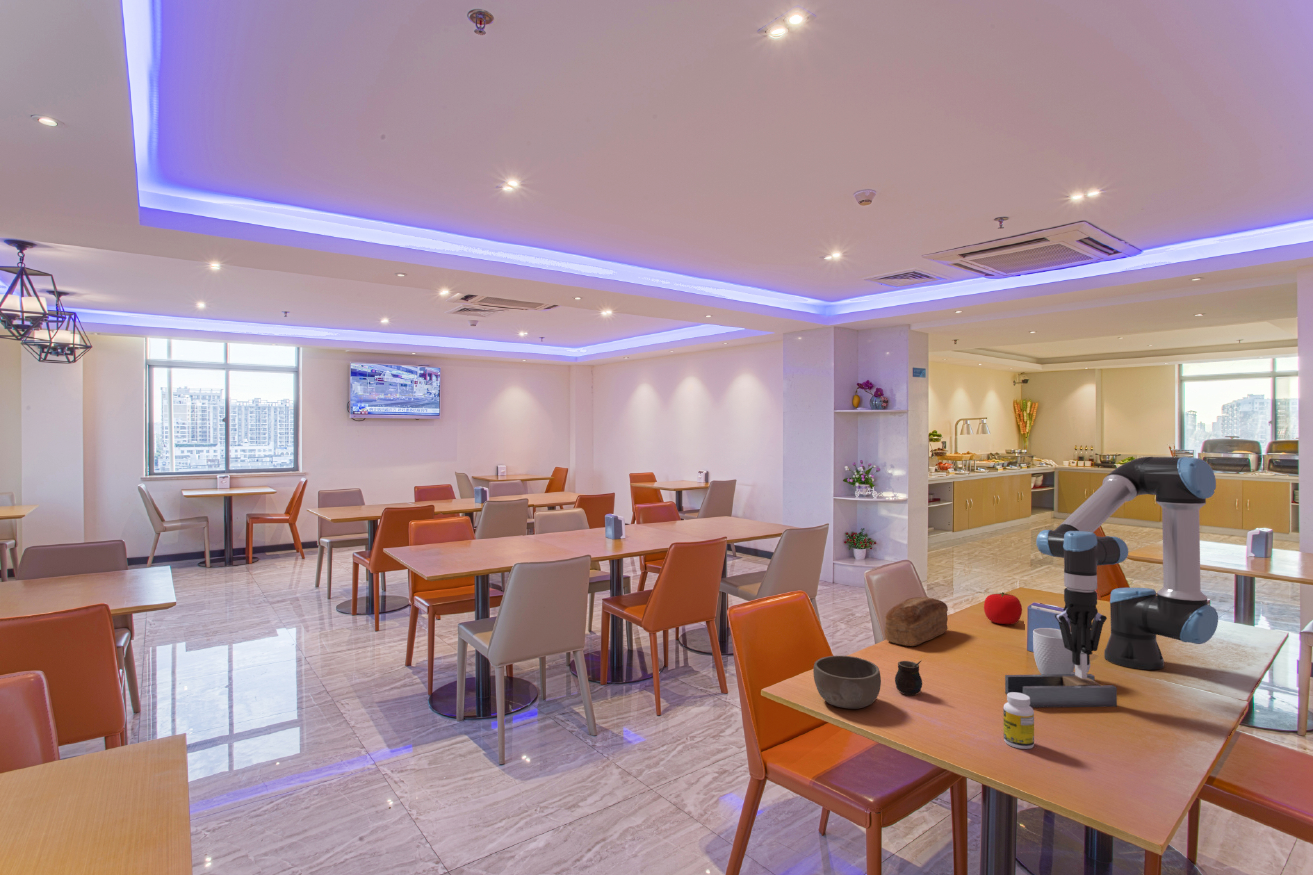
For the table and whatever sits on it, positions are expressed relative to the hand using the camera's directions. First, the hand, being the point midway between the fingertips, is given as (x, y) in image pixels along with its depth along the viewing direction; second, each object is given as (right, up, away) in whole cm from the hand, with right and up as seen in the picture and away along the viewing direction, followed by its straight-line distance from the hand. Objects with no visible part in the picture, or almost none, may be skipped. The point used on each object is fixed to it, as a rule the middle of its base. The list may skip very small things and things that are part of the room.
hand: (1081, 676), depth 177 cm
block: (0, -6, 0) cm, 6 cm away
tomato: (+18, -7, +75) cm, 77 cm away
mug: (+4, -7, +16) cm, 17 cm away
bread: (-21, -7, +57) cm, 61 cm away
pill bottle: (-31, -6, -26) cm, 41 cm away
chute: (-6, -6, 0) cm, 8 cm away
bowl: (-64, -7, -1) cm, 64 cm away
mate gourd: (-44, -7, +5) cm, 45 cm away
